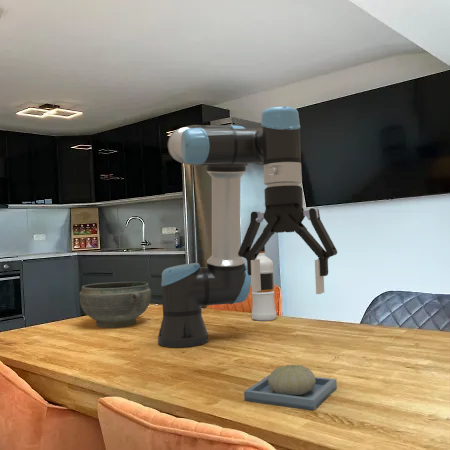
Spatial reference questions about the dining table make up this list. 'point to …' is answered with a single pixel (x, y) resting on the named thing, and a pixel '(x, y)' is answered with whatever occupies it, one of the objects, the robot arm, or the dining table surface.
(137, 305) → the bowl
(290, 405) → the tray
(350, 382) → the dining table surface
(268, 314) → the vodka
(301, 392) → the sea urchin shell
